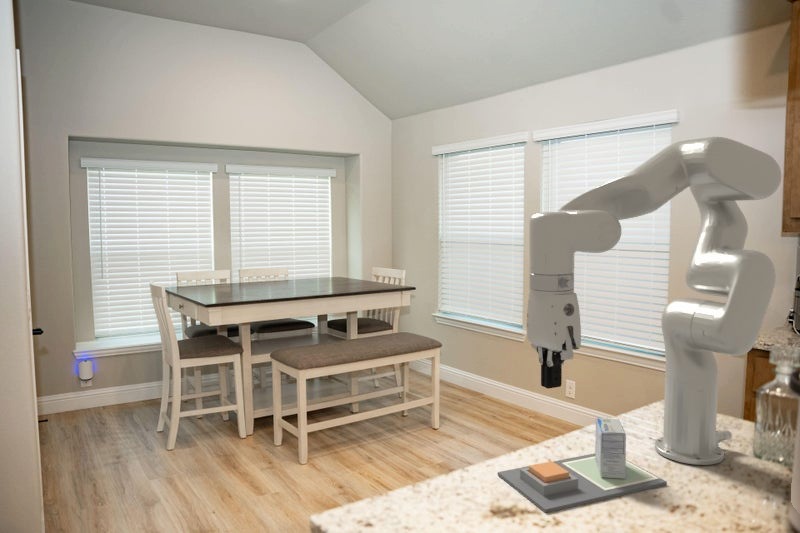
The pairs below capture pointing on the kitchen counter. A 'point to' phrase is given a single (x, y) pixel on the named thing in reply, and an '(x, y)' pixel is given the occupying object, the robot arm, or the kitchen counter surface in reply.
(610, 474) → the medicine box
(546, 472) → the button
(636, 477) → the activity board
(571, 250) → the robot arm
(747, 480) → the kitchen counter surface
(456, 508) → the kitchen counter surface
